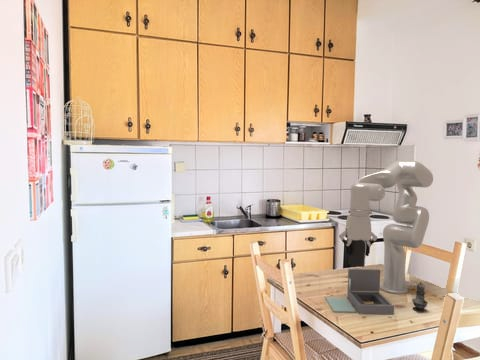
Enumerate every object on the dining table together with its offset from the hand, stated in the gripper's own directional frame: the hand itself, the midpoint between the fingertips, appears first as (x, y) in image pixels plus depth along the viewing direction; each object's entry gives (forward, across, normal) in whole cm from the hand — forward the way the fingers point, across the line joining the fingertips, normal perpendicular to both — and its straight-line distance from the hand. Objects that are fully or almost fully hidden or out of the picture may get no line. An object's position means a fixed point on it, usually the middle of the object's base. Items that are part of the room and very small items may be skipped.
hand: (357, 254), depth 149 cm
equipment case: (+22, -6, 0) cm, 23 cm away
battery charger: (+5, 0, 0) cm, 5 cm away
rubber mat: (+22, +6, -1) cm, 23 cm away
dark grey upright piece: (+22, -26, +3) cm, 34 cm away
